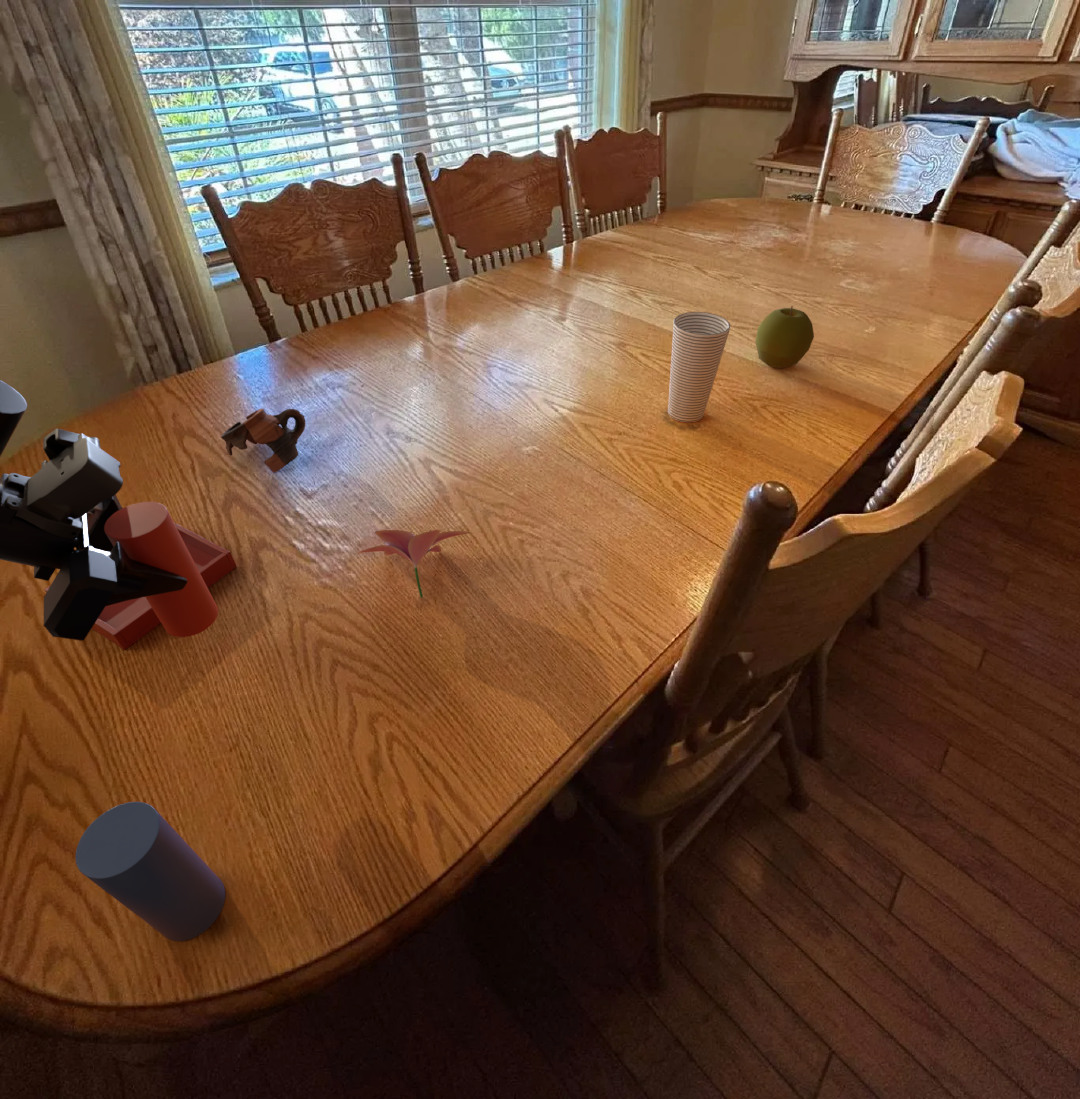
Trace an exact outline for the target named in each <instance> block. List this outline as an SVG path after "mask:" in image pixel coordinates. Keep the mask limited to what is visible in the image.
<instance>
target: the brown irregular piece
mask: <svg viewBox="0 0 1080 1099" xmlns="http://www.w3.org/2000/svg"><path fill="white" fill-rule="evenodd" d="M245 418H246V420H245V421H243V422H242V423H241V421H238V422H236V423H234V424H233V425H232V426H230V427H229V428H227V430H225V432H223V434H221V435H220V438H221V439H222V440H223V441H224V442H225V450H226V452H227V454H228V455H229V456H233V448H234V447H235V448H237V449H239V450H241V451H243V450H247V449H248V445H247V441H248V442H249V443H251V444H253V445H258V444H259V445H265V446H266V447H268V448H269V449H271V450H272V451H273V454H272V455H270V456H269V457H268V458H267V459H265V460H264V464H265V465H266V466H267V467H268V468H269V470H270V471H271V472H272V473H273V474H276V473H277V472H279V471H280V470H282V469H284V468H285V467H286V466H287V465H289V464H290V463H292V462H293V461H294V460H296V459H297V458H298V456H299V451H298V447H297V445H298V441H299V439H300V437H301V436H302V435H303V434H304V431H305V429H306V418H305V415H304V414H303V413H301V412H300V410H298V409H295V408H288V409H285V410H283V411H281V412H280V413H278V414H273V415H272V414H268V413H267V412H266V411H265V409H264V408H258V409H256V410H255V411H253V412H252V413H250V414H248V415H247V416H245ZM291 418H292V419H293V420H294V427H293V429H290V427H288V422H289V419H291Z"/></svg>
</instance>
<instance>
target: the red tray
mask: <svg viewBox="0 0 1080 1099" xmlns="http://www.w3.org/2000/svg"><path fill="white" fill-rule="evenodd" d="M174 524H175V526H176V528H177V530H178V532H179V534H180V535H181V537H182V539H183V541H184V543H185V545H186V547H187V549H188V551H189V553H190V555H191V557H192V559H193V561H194V563H195V565H196V567H197V569H198V570H199V572H200V574H201V576H202V578H203V580H204V582H205V584H206V586H207V588H208V589H209V588H211V587H212V586H213V585H214V584H216V583H217V582H219V581H220V580H221V579H223V578H224V577H225V576H226V575H228V574H229V573H230V572H232V571H234V570H235V569H236V568H237V567H238V565H237V564H236V561H235V559H234V557H233V555H232V552H231V551H230V550H228V549H226V548H223V547H222V546H220V545H218V544H216V543H215V542H212V541H210V540H208V539H206V538H205V537H203V536H200V535H199V534H197V533H195V532H193V531H191V530H189V529H187V528H185V527H184V526H181V525H179V524H177V523H175V522H174ZM50 586H51V584H50V585H49V586H47V587H46V588H44V589H43V591H45V593H46V592H47V591H48V589H49V587H50ZM160 624H161V625H162V623H161V622H160V620H159V619H158V617H157V615H156V614H155V612H154V610H153V609H152V607H151V606H150V604H149V602H148V601H147V599H146V598H145V597H142V598H137V599H132V600H128V601H124V602H120V603H116V604H113V605H109V606H105V608H104V609H103V611H102V613H101V614H100V616H99V617H98V619H97V621H96V622H95V624H94V625H93V627H92V628H91V630H93V631H95V632H96V633H97V634H99V635H101V636H102V637H104V638H105V639H107V641H110V642H111V643H113V644H115V645H116V646H117V647H118V648H121V649H122V650H123V651H125V650H127V649H128V648H130V647H132V646H133V645H134V644H135V643H136V642H138V641H140V640H141V639H142V638H143V637H145V636H146V635H147V634H149V633H150V632H151V631H153V629H155V628H156V627H158V626H160Z"/></svg>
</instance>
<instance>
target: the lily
mask: <svg viewBox="0 0 1080 1099" xmlns="http://www.w3.org/2000/svg"><path fill="white" fill-rule="evenodd" d="M470 533H471V531H465V530H448V531H441V529H434V530H427V531H425V532H421V533H419V534H417V533H416V534H414V533H412V531H406V530H402V529H401V530H400V529H381V530H376V531H374V534H375V535H376V536H377V537H378V538H379V539H380V540H381V542H383V544H382V545H381V544H380V545H376V546H372V547H369V548H366V549H365V548H364V549H362V550H361V551H358V553H357V554H363V553H372V552H383V554H384V555H385V556H386V557H388V556H392V555H394V554H396V555H398V556H401V557H402V558H404V559H406V560H407V561H408V562H411V563H412V564H413V567H414V574H415V580H416V584H417V588H418V592H419V593H418V594H419V597H420V598H423V597H424V596H423V590H422V587H421V582H420V579H419V573H418V564H419V563H420V562H421V560H422V559H423V558H424V557H425V556H426V555H427V554H428V553H441V552H442V548H441V547H440V545H438V544H437V543H440V542H441V541H444V540H447V539H450V538H453V537H458V536H463V535H467V534H470ZM435 544H436V545H435ZM432 546H433V547H432Z"/></svg>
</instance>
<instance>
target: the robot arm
mask: <svg viewBox="0 0 1080 1099" xmlns="http://www.w3.org/2000/svg"><path fill="white" fill-rule="evenodd" d="M27 408H28V403H27V401H26V398H24V397H23V395H22V394H21V393H20V392H18V390H16V389H15V388H14V387H12V386H11V385H9V384H8V383H6V382H4V381H3V380H1V379H0V457H1V456H2V454H4V451H5V449H6V447H7V445H8V444H9V442H10V439H11V438H12V436H13V434H14V432H15V431H16V428H17V427H18V426H19V423H20V422H21V419H22V418H23V416H24V414H25V412H26V410H27ZM42 441H43V442H42V447H43V448H42V449H43V451H44V453H45V455H46V457H47V458H48V460H46V459H45V460H42V462H41V468H40V469H39V470H38V471H37V472H36V473H34V474H33V475H32V476H25V475H22V474H19V473H16V472H10V473H9V474H8V473H4V472H3V473H2V475H1V476H0V560H1V561H6V562H10V563H16V564H20V565H24V566H29V567H32V568H33V579H37V580H43V581H47V582H49V581H50V580H51V578H52V576H53V575H54V573H55V571H56V570H58V573H57V574H56V576H55V577H54V579H53V581H52V582H51V584H50V585H51V586H50V585H49V586H48V587H49V589H48V591H47V592H45V593H44V596H43V627H44V628H45V629H46V630H47V631H48V633H49V635H51V636H52V638H58V639H59V638H60V639H65V640H66V639H67V640H73V641H81V642H82V641H83V642H84V641H85V640H86V638H87V637H88V635H89V633H90V632H91V631H92V627H93V625H94V624H95V622H96V621H97V619H98V617H99V616H100V614H101V613H102V611H103V609H104V608H105V606H109V605H113V604H116V603H120V602H124V601H128V600H132V599H137V598H142V597H147V596H152V595H157V594H162V593H168V592H173V591H178V590H182V589H183V588H184V587H185V586H186V584H187V579H186V578H184V577H181V576H179V575H177V574H174V573H171V572H168V571H165V570H162V569H159V568H156V567H153V566H150V565H147V564H144V563H141V562H138V561H135V560H132V559H130V558H129V556H128V555H127V553H126V552H125V550H124V549H123V547H122V546H121V544H120V543H119V542H117V543H116V544H115V546H113V545H112V543H111V541H110V540H109V538H108V537H107V535H106V533H105V531H104V525H105V523H106V521H107V520H108V519H109V517H110V516H112V515H113V514H114V513H115V512H117V511H119V510H120V509H122V508H123V507H122V504H121V502H120V501H119V500H120V499H119V498H118V496H117V494H118V493H119V492H120V491H121V489H122V487H123V485H124V479H123V477H122V476H121V472H120V471H121V470H120V468H121V462H120V461H118V460H117V459H116V458H115V457H113V456H112V455H110V454H109V453H107V452H106V451H105V450H103V449H102V448H101V442H100V439H99V438H98V437H95V436H87V435H86V434H84V433H83V432H81V433H76V432H72V431H69V430H65V429H61V428H55V429H54V430H52V431H51V432H50V433H48V434H47V435H45V436H44V437H43V440H42Z"/></svg>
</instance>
